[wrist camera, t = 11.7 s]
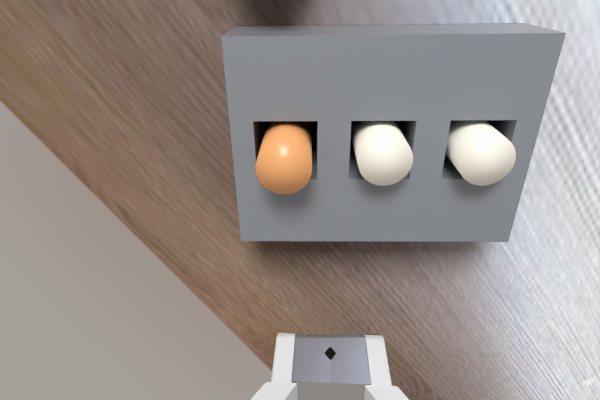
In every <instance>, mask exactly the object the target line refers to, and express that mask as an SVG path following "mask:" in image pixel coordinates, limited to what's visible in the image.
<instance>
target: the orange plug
mask: <svg viewBox="0 0 600 400" xmlns="http://www.w3.org/2000/svg"><path fill="white" fill-rule="evenodd" d="M255 169H256V175H257V177H258V179H259V181H260V182H261V184H262V185H263V186H264V187H265V188H267V189H268V190H270V191H272V192H274V193H278V194H291V193H295V192H297V191H299V190H301V189H302V188H303V187H304V186H305V185H306V184H307V183H308V181H309V180H310V177H311V174H312V131H311V127H310V124H309V123H308V121H269V122H268V124H267V127H266V130H265V133H264V137H263V140H262V144H261V147H260V151H259V154H258V157H257V161H256V166H255Z"/></svg>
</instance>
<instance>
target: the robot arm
mask: <svg viewBox="0 0 600 400" xmlns="http://www.w3.org/2000/svg"><path fill="white" fill-rule="evenodd" d="M250 400H409V399H408V398H407V397H406V396H405V394H404V393H403V392H402V391H401V390H400V389H399V388H398V387H397V386H392V384H391V378H390V372H389V366H388V360H387V354H386V348H385V342H384V338H383V336H373V335H365V336H364V335H318V334H298V333H296V334H293V333H278V335H277V338H276V346H275V354H274V362H273V370H272V378H271V382H265V384H264V385H263V386H262V387H261V388H260V389H259V390H258V392H257V393H256V394H255V395H254V396H253V397H252V398H251V399H250Z"/></svg>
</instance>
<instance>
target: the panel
mask: <svg viewBox="0 0 600 400" xmlns="http://www.w3.org/2000/svg"><path fill="white" fill-rule="evenodd" d="M565 34H566V33H564V32H560V31H555V30H551V29H546V28H542V27H537V26H533V25H529V24H524V23H499V24H407V25H316V26H236V27H234V28H233V29H231V30H230V31H228V32H227V33H225V34H224V35H222V36H221V40H222V51H223V61H224V71H225V81H226V92H227V102H228V112H229V122H230V133H231V143H232V153H233V164H234V174H235V184H236V194H237V205H238V215H239V225H240V235H241V241H399V242H508V240H509V236H510V232H511V229H512V225H513V221H514V218H515V214H516V211H517V207H518V203H519V200H520V196H521V193H522V189H523V185H524V182H525V178H526V174H527V171H528V167H529V164H530V160H531V156H532V153H533V149H534V146H535V142H536V138H537V135H538V131H539V128H540V124H541V120H542V117H543V113H544V109H545V106H546V102H547V99H548V95H549V91H550V88H551V84H552V81H553V77H554V73H555V70H556V66H557V63H558V59H559V55H560V52H561V48H562V44H563V41H564V37H565ZM451 120H485V121H487V122H488V123H489V124H490V125H491V126H493V127H494V128H495V129H496V130H497V131H499V132H500V133H501V134H502V135H503V136H505V137H506V138H507V139H508V140H509V141H510V142H511V143H512V144H513V146H514V148H515V151H516V159H515V163H514V165H513V168H512V169H511V171H510V172H509V173H508V174H507V175H506V176H505V177H504V178H503V179H501V180H500V181H498V182H496V183H493V184H490V185H484V186H479V185H474V184H471V183H469V182H468V181H466V180H465V179H464V178H463V177H462V175H461V174H460V173H459V171H458V170H457V169H456V167H455V166H454V165H453V163H452V162H451V161H450V159H449V158H448V157H447V155H446V154H445V153H446V147H447V141H448V135H449V129H450V123H451ZM263 121H316V150H312V174H311V177H310V180H309V181H308V183H307V184H306V185H305V186H304V187H303V188H302V189H301V190H299V191H297V192H295V193H291V194H278V193H274V192H272V191H270V190H268V189H267V188H265V187H264V186H263V185H262V184H261V182H260V181H259V179H258V177H257V175H256V169H255V166H256V161H257V157H258V154H259V151H260V147H261V144H262V140H263V137H264V128H263ZM351 121H398V127H399V129H400V131H401V132H402V134H403V136H404V138H405V139H406V141H407V143H408V144H409V146H410V148H411V150H412V153H413V163H412V167H411V169H410V171H409V172H408V174H407V175H406V176H405V177H404V178H403V179H402V180H400V181H399V182H397V183H395V184H392V185H387V186H379V185H375V184H372V183H370V182H368V181H367V180H366V179H364V177H363V176H362V175H361V173H360V171H359V168H358V164H357V160H356V156H355V152H354V150H350V139H351Z"/></svg>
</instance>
